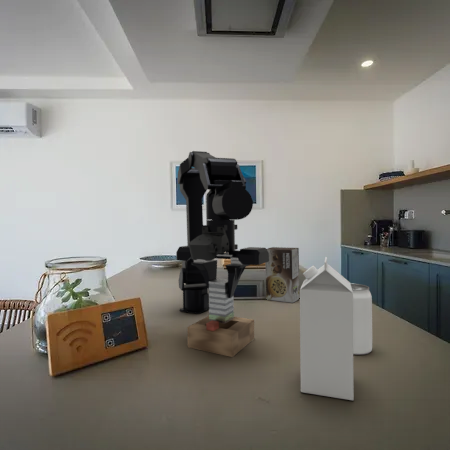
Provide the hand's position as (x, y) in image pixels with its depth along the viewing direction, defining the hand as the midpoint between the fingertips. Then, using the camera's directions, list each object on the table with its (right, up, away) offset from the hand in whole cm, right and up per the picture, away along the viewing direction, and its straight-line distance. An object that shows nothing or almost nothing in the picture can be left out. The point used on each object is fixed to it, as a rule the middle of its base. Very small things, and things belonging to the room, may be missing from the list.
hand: (221, 296), depth 64 cm
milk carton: (+16, -10, -17) cm, 25 cm away
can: (+25, -9, -3) cm, 27 cm away
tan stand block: (0, -10, 0) cm, 10 cm away
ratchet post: (0, -5, 0) cm, 5 cm away
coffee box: (+19, -9, +34) cm, 40 cm away
